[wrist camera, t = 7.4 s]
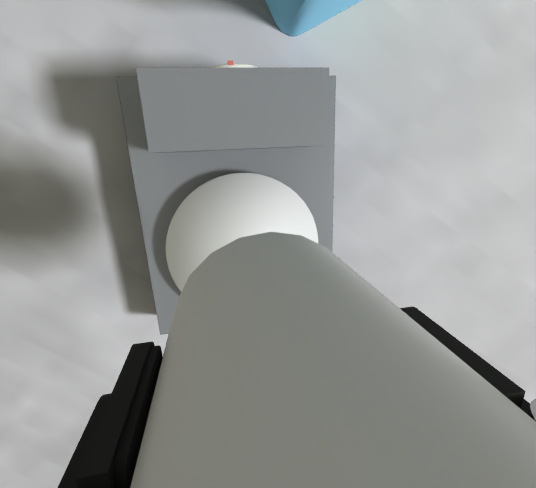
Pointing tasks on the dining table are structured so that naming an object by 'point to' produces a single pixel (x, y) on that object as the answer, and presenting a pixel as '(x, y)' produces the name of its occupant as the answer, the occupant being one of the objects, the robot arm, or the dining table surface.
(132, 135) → the scale
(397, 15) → the dining table surface
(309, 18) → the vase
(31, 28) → the dining table surface
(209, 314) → the can
